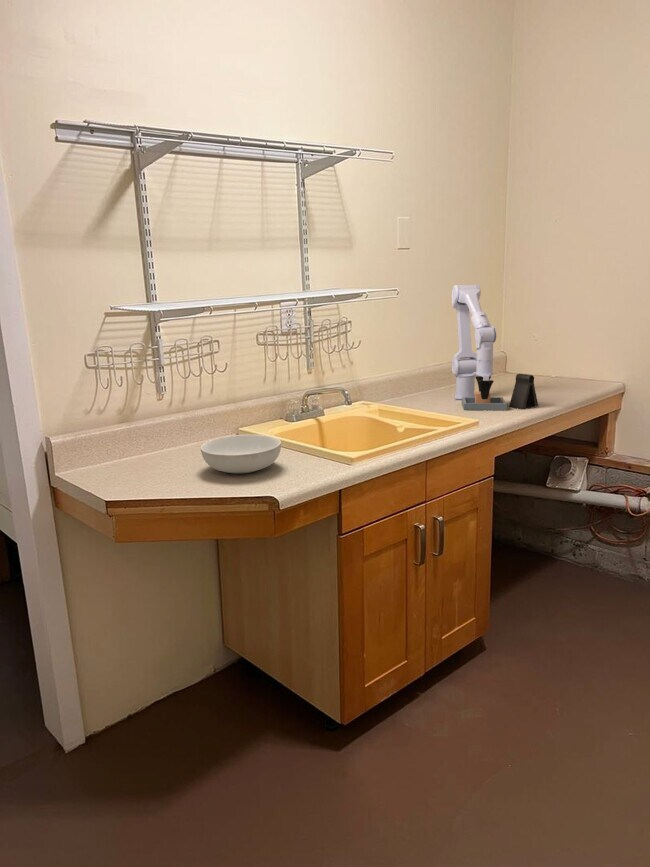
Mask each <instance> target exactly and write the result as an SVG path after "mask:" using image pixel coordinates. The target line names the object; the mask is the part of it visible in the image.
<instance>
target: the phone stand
mask: <svg viewBox="0 0 650 867" xmlns="http://www.w3.org/2000/svg"><path fill="white" fill-rule="evenodd" d="M538 403H539V402H538V396H537V392H536V386H535V375H533V374H526V373H517V374H516V375H515V383H514V386H513V390H512V394H511V398H510V402H509V405H508V407H509V408H511V407H512V409H517V408H518V409H517V410H522V409H523V410H527V409H526V408H528V409H532V408H531V407H533V408H536V407H535V406H538V407H539V404H538Z"/></svg>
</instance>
